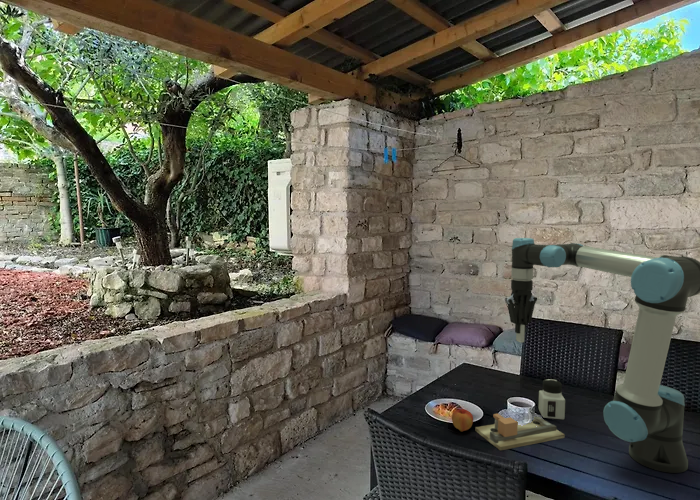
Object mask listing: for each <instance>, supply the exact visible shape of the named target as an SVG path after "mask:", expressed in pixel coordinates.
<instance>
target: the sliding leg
mask: <svg viewBox="0 0 700 500" xmlns="http://www.w3.org/2000/svg"><path fill="white" fill-rule="evenodd" d="M492 415H493V416H492V417H493V418H494V424H495V429H498V433H500V434H501V435H503V436H504V437H508V436H513V435H517V427H518V422H517V421H515V420H516V419H514V418H512V417H511V416H510V417H504V416H502V415H500V413H493V414H492Z"/></svg>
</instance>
